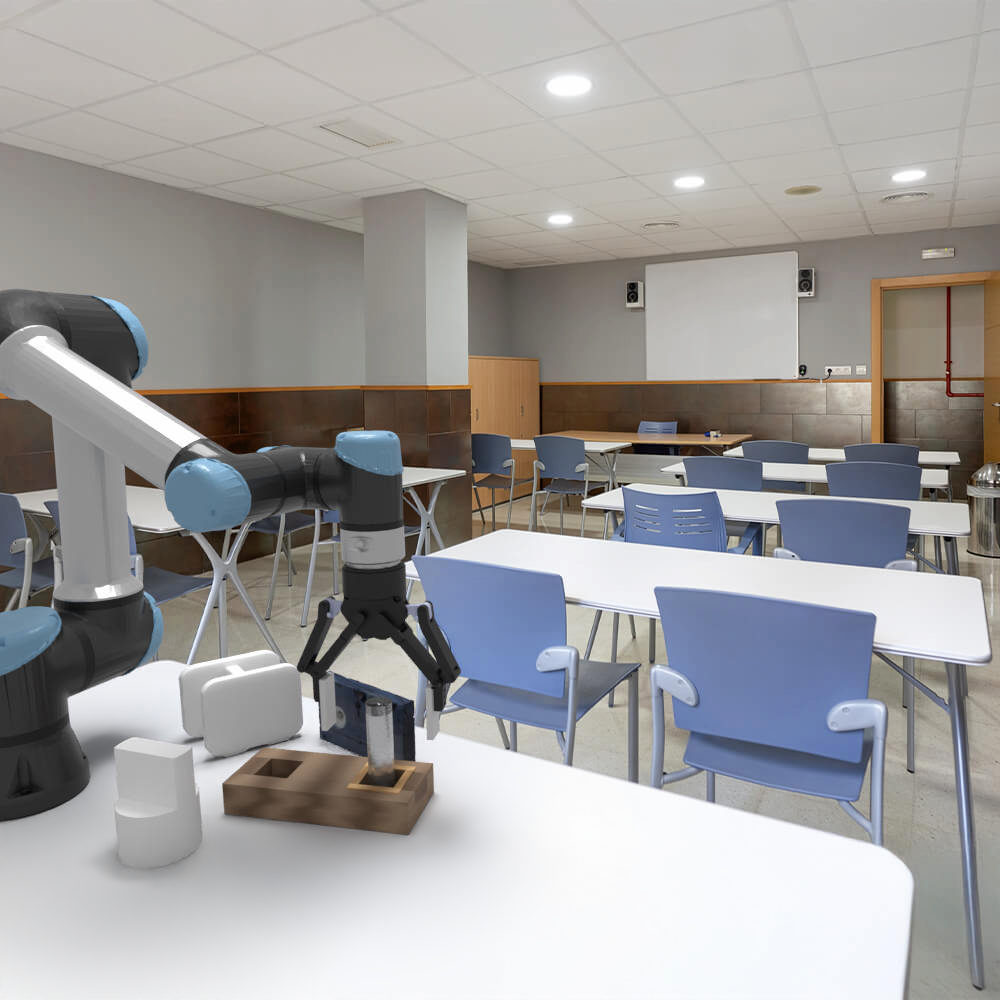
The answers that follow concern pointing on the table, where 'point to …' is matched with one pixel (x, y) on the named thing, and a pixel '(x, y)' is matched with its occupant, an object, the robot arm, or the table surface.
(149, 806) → the cylinder with rectangular tab
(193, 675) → the cable organizer
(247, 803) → the mount block
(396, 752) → the vhs cassette tape
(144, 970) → the table surface
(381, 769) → the lock pin
